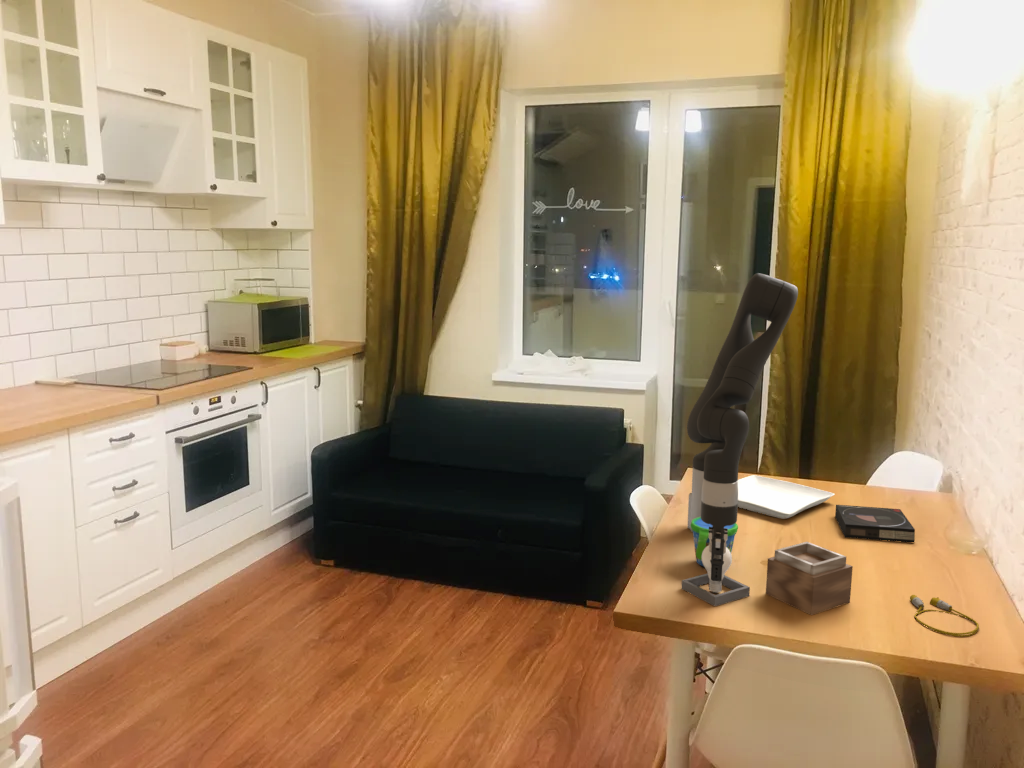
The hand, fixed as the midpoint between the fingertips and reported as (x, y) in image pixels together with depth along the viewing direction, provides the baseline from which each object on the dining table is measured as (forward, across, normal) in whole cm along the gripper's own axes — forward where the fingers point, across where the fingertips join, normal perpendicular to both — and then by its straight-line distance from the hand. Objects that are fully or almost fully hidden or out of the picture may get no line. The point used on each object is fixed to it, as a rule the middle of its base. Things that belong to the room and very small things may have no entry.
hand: (716, 574), depth 174 cm
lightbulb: (+4, 0, 0) cm, 4 cm away
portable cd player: (+5, +52, -40) cm, 66 cm away
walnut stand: (+4, +2, -19) cm, 20 cm away
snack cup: (+4, +16, +1) cm, 17 cm away
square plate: (+5, +69, -15) cm, 70 cm away
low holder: (+4, 0, 0) cm, 4 cm away
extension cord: (+5, -1, -45) cm, 45 cm away
